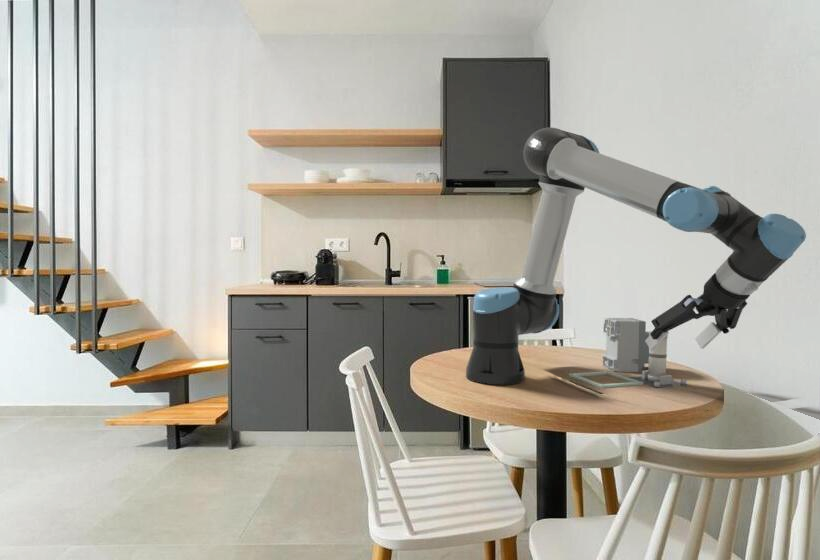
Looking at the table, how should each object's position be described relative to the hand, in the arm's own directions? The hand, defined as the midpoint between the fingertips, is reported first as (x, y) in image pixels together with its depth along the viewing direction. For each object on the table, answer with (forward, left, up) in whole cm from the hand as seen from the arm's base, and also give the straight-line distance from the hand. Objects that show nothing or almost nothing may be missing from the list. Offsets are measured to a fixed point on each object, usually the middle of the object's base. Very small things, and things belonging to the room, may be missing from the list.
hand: (674, 344), depth 110 cm
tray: (-12, +9, -11) cm, 19 cm away
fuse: (0, +5, -10) cm, 11 cm away
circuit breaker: (+5, +18, -12) cm, 22 cm away
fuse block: (0, +5, -11) cm, 12 cm away
